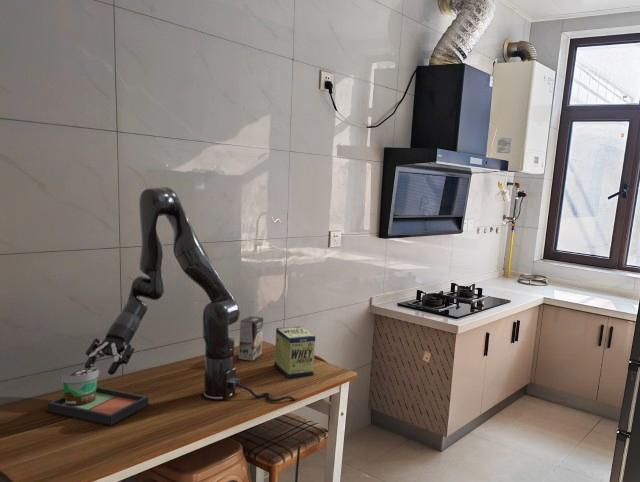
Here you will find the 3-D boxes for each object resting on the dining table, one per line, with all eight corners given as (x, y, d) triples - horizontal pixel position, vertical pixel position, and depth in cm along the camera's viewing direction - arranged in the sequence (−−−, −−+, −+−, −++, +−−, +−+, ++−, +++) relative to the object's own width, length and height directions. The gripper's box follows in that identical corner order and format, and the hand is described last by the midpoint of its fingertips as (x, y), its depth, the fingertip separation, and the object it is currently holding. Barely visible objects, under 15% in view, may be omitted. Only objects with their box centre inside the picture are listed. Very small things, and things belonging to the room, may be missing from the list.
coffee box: (253, 361, 222) (254, 322, 219) (238, 359, 223) (239, 320, 220) (262, 354, 231) (263, 317, 228) (247, 352, 232) (249, 315, 229)
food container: (79, 410, 163) (79, 379, 161) (61, 407, 164) (61, 375, 163) (109, 395, 175) (108, 366, 173) (92, 392, 176) (91, 363, 175)
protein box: (288, 378, 207) (290, 338, 204) (273, 364, 220) (275, 327, 217) (313, 375, 213) (316, 336, 210) (298, 362, 225) (300, 325, 222)
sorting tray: (148, 404, 174) (148, 396, 174) (111, 425, 159) (110, 416, 158) (89, 392, 179) (89, 384, 178) (48, 411, 164) (47, 402, 163)
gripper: (99, 319, 180) (72, 362, 171) (137, 325, 177) (111, 370, 168) (111, 330, 186) (85, 373, 177) (148, 336, 183) (123, 380, 175)
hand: (98, 371), depth 173 cm, fingers open, 8 cm apart
